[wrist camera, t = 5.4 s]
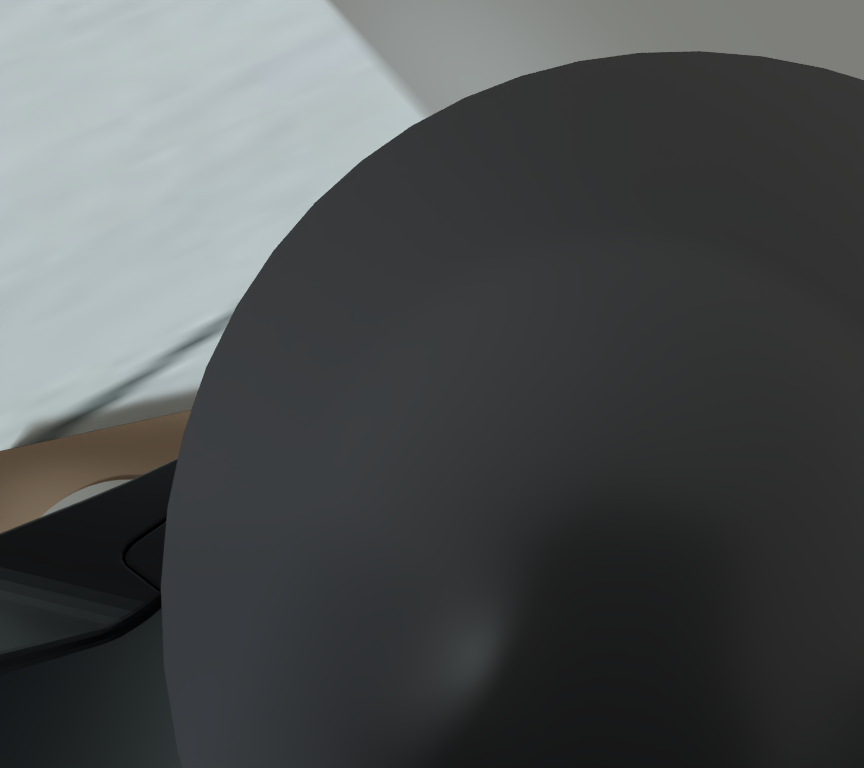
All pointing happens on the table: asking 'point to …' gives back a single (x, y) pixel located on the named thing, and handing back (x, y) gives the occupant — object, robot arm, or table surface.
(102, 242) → the table surface
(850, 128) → the dark grey cylinder
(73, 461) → the mount board
